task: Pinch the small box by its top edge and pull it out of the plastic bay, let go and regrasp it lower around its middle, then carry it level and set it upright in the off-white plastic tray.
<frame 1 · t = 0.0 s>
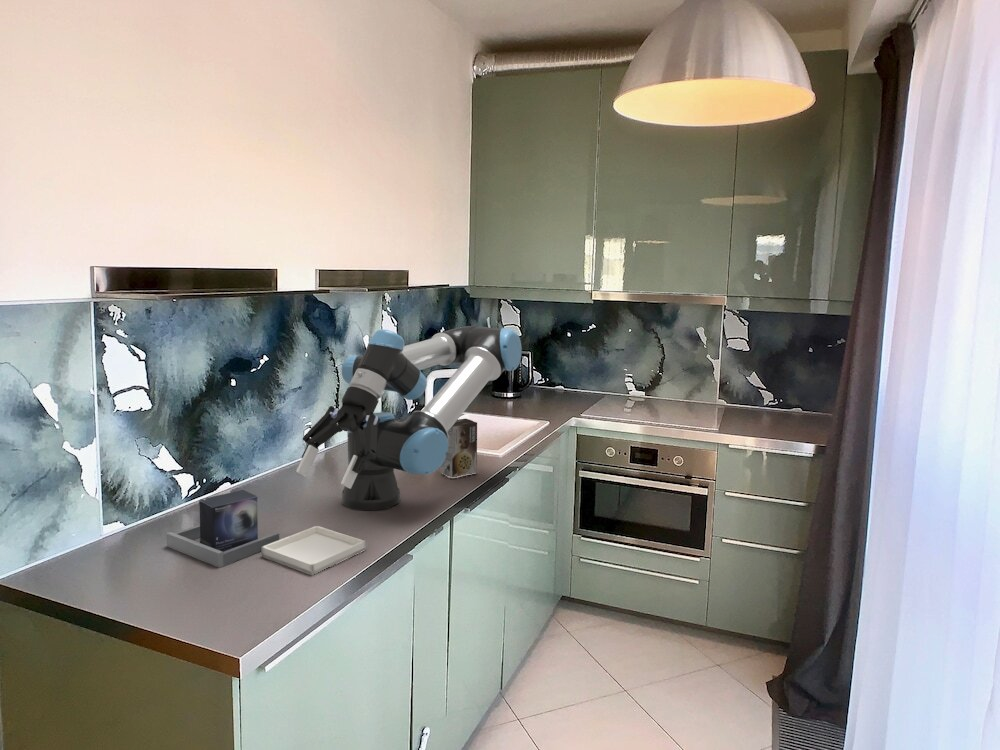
hand: (322, 480, 149), 15 cm above the worktop, tool tilted 35°, fingers open, 13 cm apart
tray: (314, 553, 148), on the worktop
small box: (229, 544, 152), on the worktop
coffee box: (458, 475, 207), on the worktop
bay: (229, 543, 152), on the worktop
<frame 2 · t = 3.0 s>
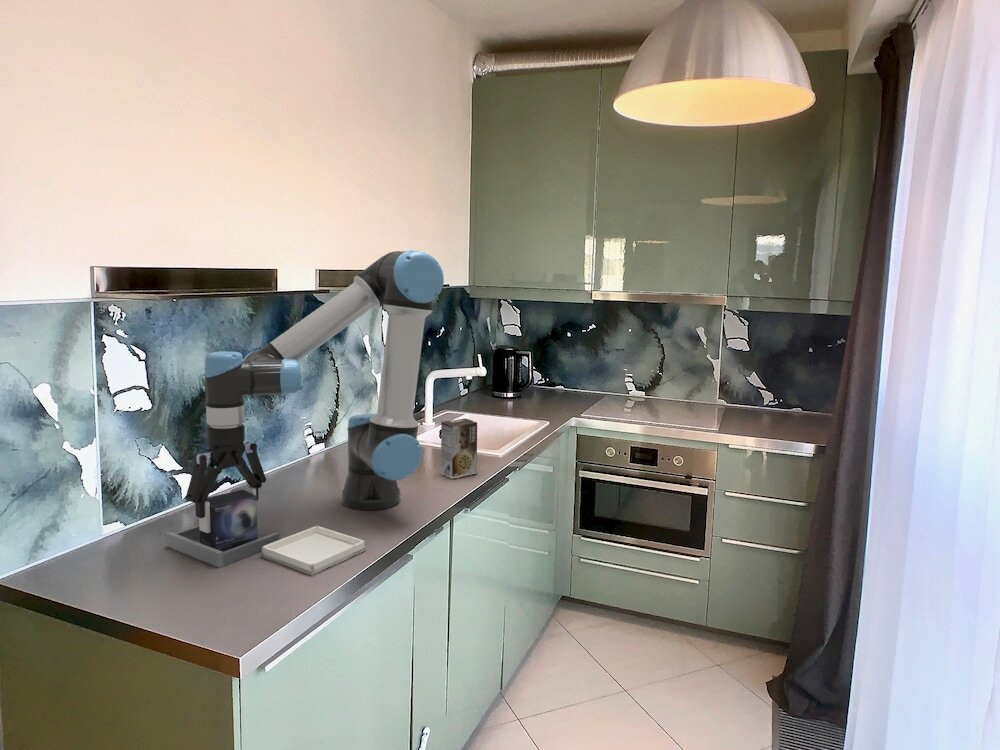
hand: (228, 523, 152), 5 cm above the worktop, tool pointing down, fingers closed on small box, 11 cm apart
small box: (229, 544, 152), on the worktop, touching gripper
everything else where it was.
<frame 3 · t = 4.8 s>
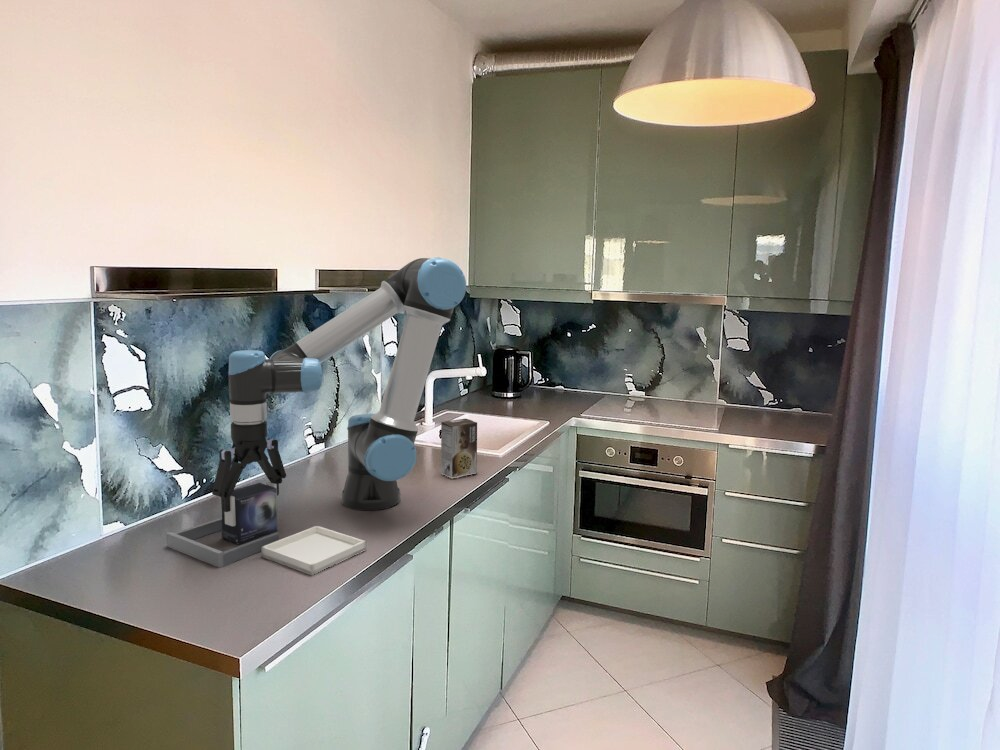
hand: (251, 517, 156), 4 cm above the worktop, tool pointing down, fingers closed on small box, 10 cm apart
small box: (250, 535, 157), on the worktop, touching gripper
everything else where it was.
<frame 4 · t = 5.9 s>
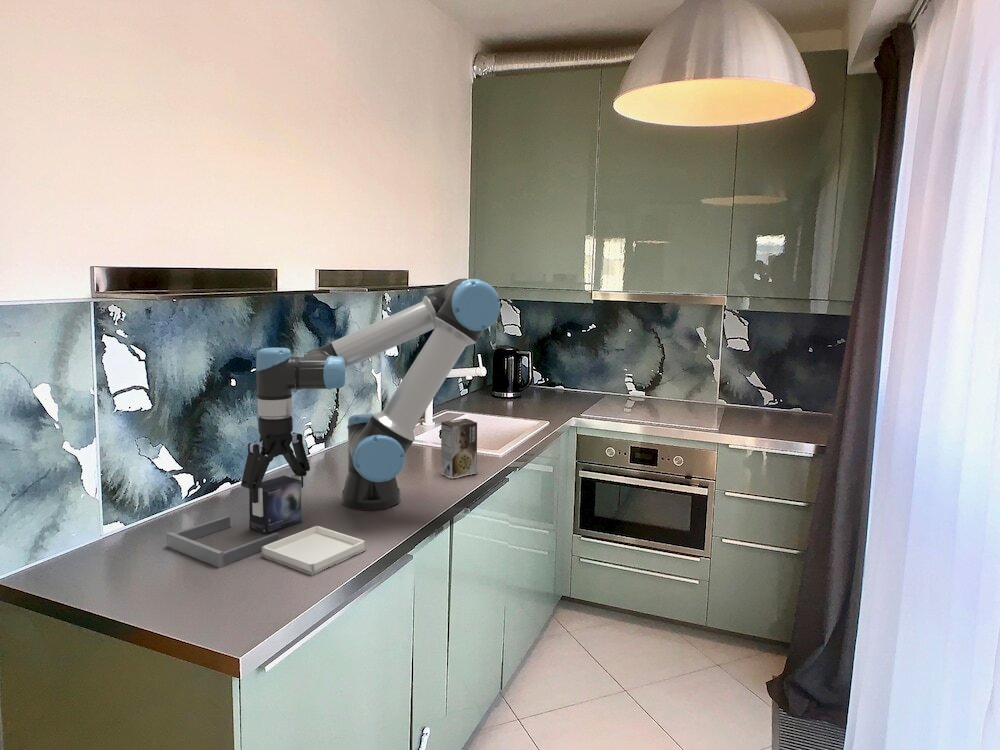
hand: (277, 508, 162), 4 cm above the worktop, tool pointing down, fingers closed on small box, 10 cm apart
small box: (276, 526, 163), on the worktop, touching gripper
everything else where it was.
when the fingers open (4 cm above the worktop, at t = 16.6 s): small box drops 2 cm, point 1 cm above the worktop.
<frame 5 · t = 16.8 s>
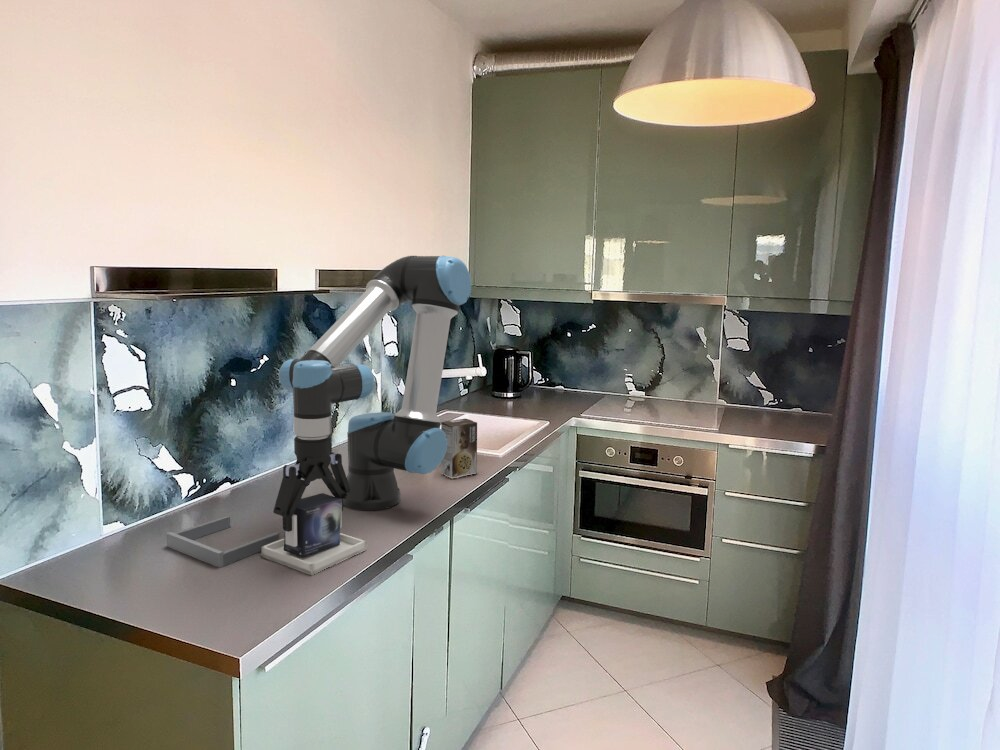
hand: (314, 535, 147), 4 cm above the worktop, tool pointing down, fingers open, 12 cm apart
small box: (312, 549, 148), point 1 cm above the worktop, touching gripper
everything else where it was.
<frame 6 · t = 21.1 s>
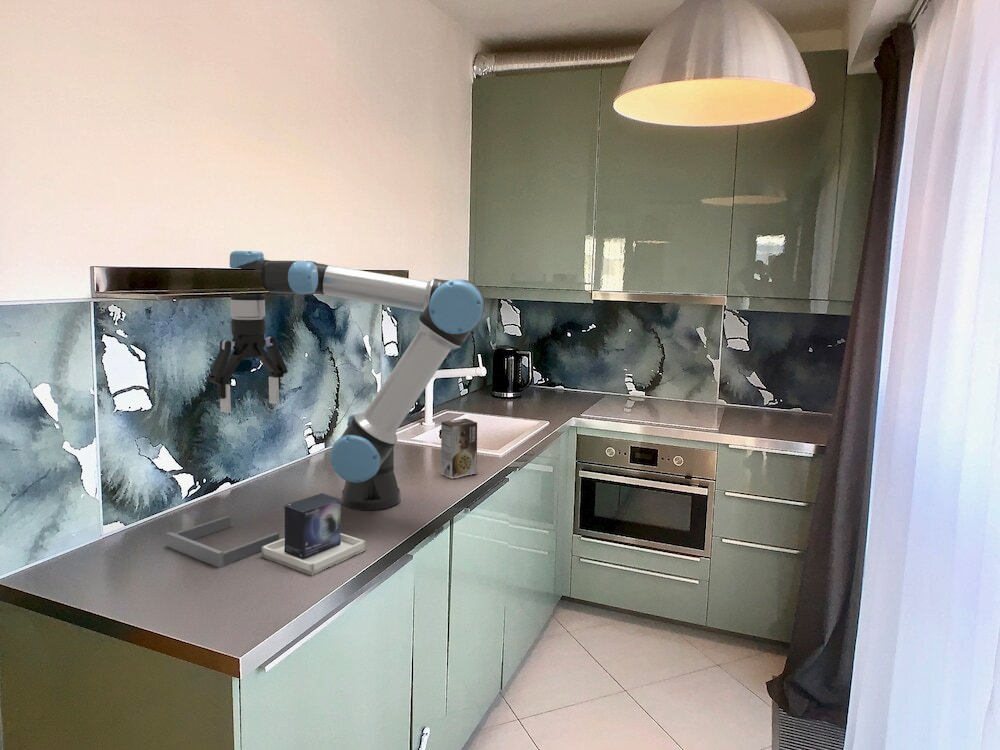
hand: (250, 407, 165), 27 cm above the worktop, tool pointing down, fingers open, 13 cm apart
small box: (313, 549, 149), point 1 cm above the worktop, touching tray
everything else where it was.
at the end: small box 0.9 cm off-centre on the tray, point 0.6 cm above the tray's base; small box tilted 0°; the gripper is holding nothing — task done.
